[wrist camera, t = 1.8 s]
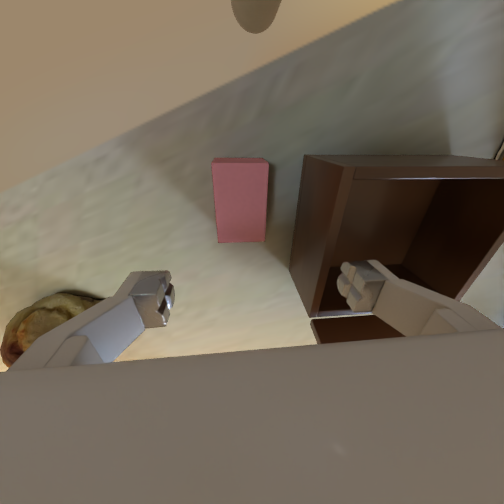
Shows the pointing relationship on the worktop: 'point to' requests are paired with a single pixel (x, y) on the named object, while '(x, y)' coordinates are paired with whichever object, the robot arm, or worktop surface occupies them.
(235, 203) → the pink rectangular block
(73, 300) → the pastry
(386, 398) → the robot arm
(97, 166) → the worktop surface
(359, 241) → the chest
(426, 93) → the worktop surface
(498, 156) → the condiment
